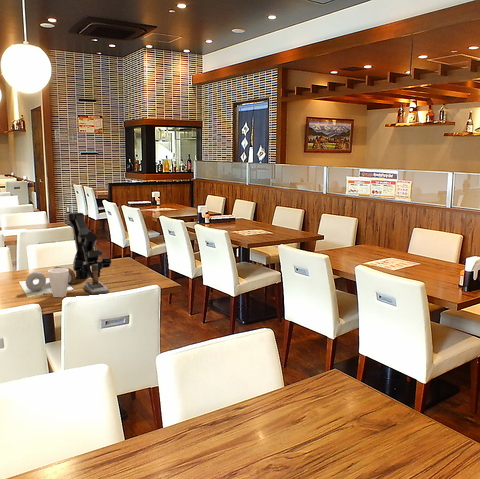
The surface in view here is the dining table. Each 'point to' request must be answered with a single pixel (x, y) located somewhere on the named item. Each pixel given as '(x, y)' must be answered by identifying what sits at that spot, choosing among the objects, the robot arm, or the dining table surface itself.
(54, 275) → the foam cup
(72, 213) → the robot arm
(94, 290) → the rail base
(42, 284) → the donut
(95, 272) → the slide handle
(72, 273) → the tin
